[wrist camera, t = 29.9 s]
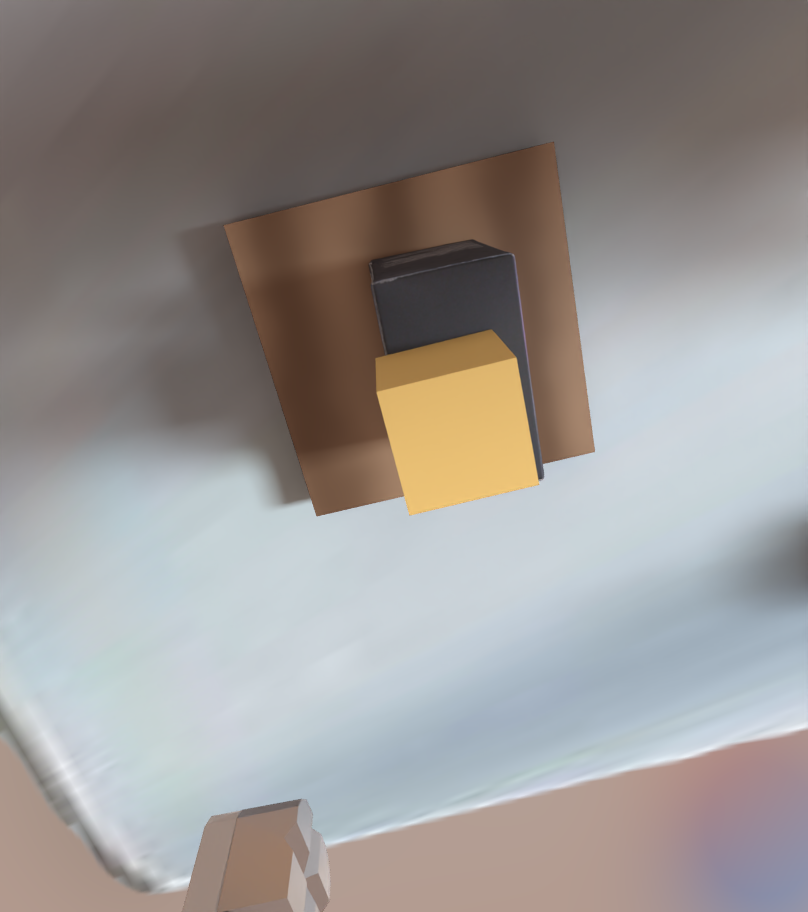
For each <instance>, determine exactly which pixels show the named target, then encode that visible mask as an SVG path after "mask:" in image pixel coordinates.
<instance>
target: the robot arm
mask: <svg viewBox="0 0 808 912" xmlns="http://www.w3.org/2000/svg"><path fill="white" fill-rule="evenodd" d="M312 820H313V813H312V810H311V808H310V806H309V804H308V802H307V799H298V800H293V801H287V802H282V803H276V804H271V805H266V806H260V807H255V808H249V809H244V810H241V811H236V812H231V813H225V814H220V815H215V816H211V818H210V819H209V821H208V822H207V824H206V826H205V828H204V831H203V835H202V839H201V843H200V846H199V850H198V854H197V858H196V861H195V865H194V869H193V872H192V876H191V880H190V884H189V887H188V891H187V895H186V899H185V902H184V906H183V910H182V912H323V911H324V909H325V907H326V906H327V904H328V903H329V900H330V870H329V859H328V855H327V850H326V846H325V843H324V840H323V838H322V835H321V834H320V833H319V832H317V831H315V830H314V829H312Z"/></svg>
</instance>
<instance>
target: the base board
mask: <svg viewBox="0 0 808 912" xmlns="http://www.w3.org/2000/svg"><path fill="white" fill-rule="evenodd" d="M224 228H225V231H226V235H227V238H228V241H229V244H230V247H231V250H232V253H233V256H234V260H235V263H236V266H237V269H238V272H239V275H240V278H241V281H242V285H243V288H244V291H245V294H246V297H247V300H248V303H249V306H250V310H251V313H252V316H253V319H254V322H255V325H256V328H257V331H258V335H259V338H260V341H261V344H262V347H263V350H264V353H265V356H266V360H267V363H268V366H269V369H270V372H271V375H272V378H273V381H274V385H275V388H276V391H277V394H278V397H279V400H280V403H281V406H282V410H283V413H284V416H285V419H286V422H287V425H288V428H289V432H290V435H291V438H292V441H293V444H294V447H295V450H296V453H297V457H298V460H299V463H300V466H301V469H302V472H303V475H304V478H305V482H306V485H307V488H308V491H309V494H310V497H311V500H312V503H313V507H314V510H315V513H316V516H321V515H325V514H329V513H333V512H338V511H342V510H346V509H351V508H355V507H359V506H364V505H368V504H372V503H377V502H381V501H385V500H390V499H394V498H398V497H402V496H404V493H403V489H402V486H401V482H400V478H399V474H398V471H397V467H396V463H395V459H394V456H393V452H392V448H391V445H390V441H389V437H388V433H387V430H386V426H385V422H384V418H383V415H382V411H381V407H380V404H379V400H378V396H377V392H376V361H375V358H378V357H382V356H385V353H384V348H383V344H382V339H381V334H380V330H379V325H378V320H377V315H376V310H375V305H374V301H373V296H372V291H371V282H372V280H371V275H370V271H369V266H368V265H369V263H370V261H371V260H374V259H379V258H384V257H388V256H393V255H398V254H403V253H408V252H412V251H417V250H422V249H426V248H431V247H436V246H441V245H445V244H450V243H455V242H460V241H466V240H471V239H474V240H476V241H478V242H481V243H484V244H486V245H489V246H491V247H494V248H497V249H499V250H503V251H505V252H510V253H512V254H514V256H515V261H516V269H517V276H518V284H519V292H520V299H521V307H522V315H523V323H524V330H525V338H526V345H527V353H528V361H529V368H530V375H531V383H532V390H533V398H534V405H535V412H536V419H537V427H538V434H539V441H540V449H541V455H542V464H545V463H549V462H553V461H558V460H562V459H566V458H571V457H575V456H579V455H583V454H588V453H592V452H595V448H594V441H593V433H592V426H591V418H590V411H589V403H588V396H587V388H586V381H585V373H584V365H583V358H582V350H581V343H580V335H579V328H578V320H577V313H576V305H575V298H574V290H573V283H572V275H571V267H570V260H569V252H568V245H567V237H566V230H565V222H564V215H563V207H562V200H561V192H560V185H559V177H558V170H557V162H556V154H555V147H554V142H550V143H546V144H542V145H538V146H534V147H530V148H527V149H523V150H519V151H515V152H511V153H507V154H503V155H499V156H495V157H491V158H487V159H483V160H479V161H475V162H471V163H467V164H463V165H459V166H455V167H452V168H448V169H444V170H440V171H436V172H432V173H428V174H424V175H420V176H416V177H412V178H408V179H404V180H400V181H396V182H392V183H388V184H384V185H380V186H377V187H373V188H369V189H365V190H361V191H357V192H353V193H349V194H345V195H341V196H337V197H333V198H329V199H325V200H321V201H317V202H313V203H309V204H305V205H302V206H298V207H294V208H290V209H286V210H282V211H278V212H274V213H270V214H266V215H262V216H258V217H254V218H250V219H246V220H242V221H238V222H234V223H230V224H227V225H224Z"/></svg>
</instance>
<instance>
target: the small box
mask: <svg viewBox="0 0 808 912" xmlns="http://www.w3.org/2000/svg"><path fill="white" fill-rule="evenodd" d="M368 266H369V271H370V275H371V280H372V282H371V291H372V296H373V301H374V305H375V310H376V315H377V320H378V325H379V330H380V334H381V339H382V344H383V348H384V353H385V356H386V355H390V354H394V353H398V352H402V351H406V350H410V349H414V348H418V347H422V346H426V345H430V344H434V343H438V342H442V341H446V340H450V339H454V338H458V337H462V336H466V335H470V334H474V333H478V332H482V331H486V330H490V329H492V330H493V331H494V332H495V333H496V335H497V336H498V337H499V338H500V339H501V340H502V341H503V343H504V344H505V345H506V346H507V347H508V348H509V349H510V351H511V352H512V353H513V354H514V355H515V356H516V358H517V363H518V369H519V374H520V380H521V386H522V391H523V397H524V402H525V408H526V414H527V419H528V425H529V430H530V436H531V442H532V447H533V453H534V458H535V464H536V469H537V475H538V481H541V480H543V479H544V470H543V464H542V455H541V449H540V441H539V434H538V427H537V419H536V412H535V405H534V398H533V390H532V383H531V375H530V368H529V361H528V353H527V345H526V338H525V330H524V323H523V315H522V307H521V299H520V292H519V284H518V276H517V269H516V261H515V256H514V254H512V253H510V252H505V251H503V250H499V249H497V248H494V247H491V246H489V245H486V244H484V243H481V242H478V241H476V240H474V239H471V240H466V241H460V242H455V243H450V244H445V245H441V246H436V247H431V248H426V249H422V250H417V251H412V252H408V253H403V254H398V255H393V256H388V257H384V258H379V259H374V260H371V261H370V263H369V265H368Z"/></svg>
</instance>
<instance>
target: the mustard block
mask: <svg viewBox="0 0 808 912" xmlns="http://www.w3.org/2000/svg"><path fill="white" fill-rule="evenodd" d="M375 361H376V392H377V396H378V400H379V404H380V407H381V411H382V415H383V418H384V422H385V426H386V430H387V433H388V437H389V441H390V445H391V448H392V452H393V456H394V459H395V463H396V467H397V471H398V474H399V478H400V482H401V486H402V489H403V493H404V497H405V500H406V504H407V508H408V512H409V515H414V514H418V513H422V512H426V511H431V510H435V509H439V508H443V507H447V506H452V505H456V504H460V503H464V502H468V501H473V500H477V499H481V498H485V497H490V496H494V495H498V494H502V493H506V492H511V491H515V490H519V489H523V488H527V487H532V486H536V485H539V481H538V475H537V469H536V464H535V458H534V453H533V447H532V442H531V436H530V430H529V425H528V419H527V414H526V408H525V402H524V397H523V391H522V386H521V380H520V374H519V369H518V363H517V358H516V356H515V355H514V354H513V353H512V352H511V351H510V349H509V348H508V347H507V346H506V345H505V344H504V343H503V341H502V340H501V339H500V338H499V337H498V336H497V335H496V333H495V332H494V331H493V330H492V329H490V330H486V331H482V332H478V333H474V334H470V335H466V336H462V337H458V338H454V339H450V340H446V341H442V342H438V343H434V344H430V345H426V346H422V347H418V348H414V349H410V350H406V351H402V352H398V353H394V354H390V355H386V356H382V357H378V358H375Z"/></svg>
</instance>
